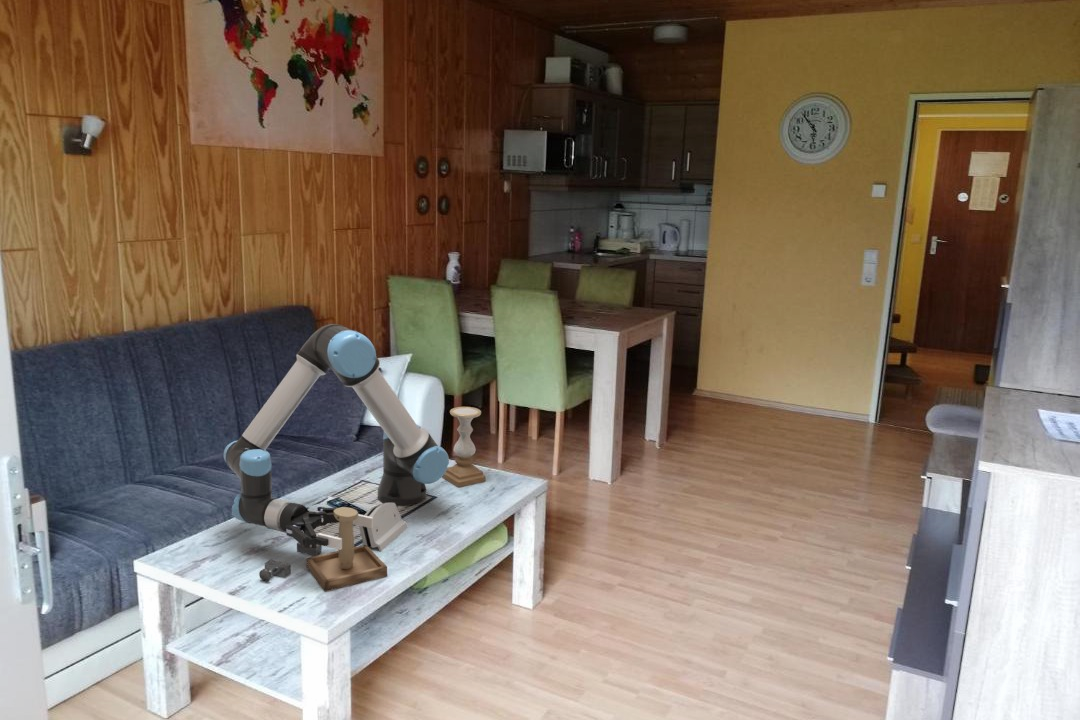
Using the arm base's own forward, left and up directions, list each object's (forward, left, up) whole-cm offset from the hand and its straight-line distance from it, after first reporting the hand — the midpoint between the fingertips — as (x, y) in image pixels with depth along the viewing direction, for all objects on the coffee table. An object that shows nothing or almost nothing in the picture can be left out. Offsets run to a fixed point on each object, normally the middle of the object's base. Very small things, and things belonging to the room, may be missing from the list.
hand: (357, 533), depth 198 cm
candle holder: (-54, -45, -11) cm, 71 cm away
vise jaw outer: (+19, -9, -11) cm, 23 cm away
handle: (+2, -3, -10) cm, 11 cm away
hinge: (-14, -17, -12) cm, 25 cm away
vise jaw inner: (+7, -17, -11) cm, 22 cm away
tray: (+2, -3, -11) cm, 12 cm away
